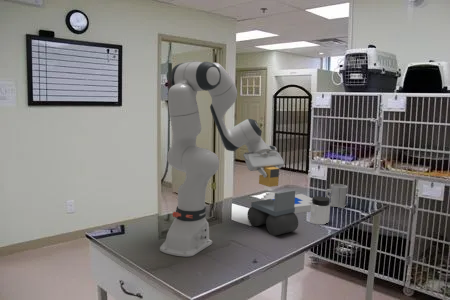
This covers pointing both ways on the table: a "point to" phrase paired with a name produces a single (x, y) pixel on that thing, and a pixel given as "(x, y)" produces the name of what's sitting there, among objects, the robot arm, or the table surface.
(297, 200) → the stepped white slab
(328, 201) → the jar
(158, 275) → the table surface
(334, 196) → the cup
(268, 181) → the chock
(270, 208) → the trolley
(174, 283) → the table surface
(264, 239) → the table surface
